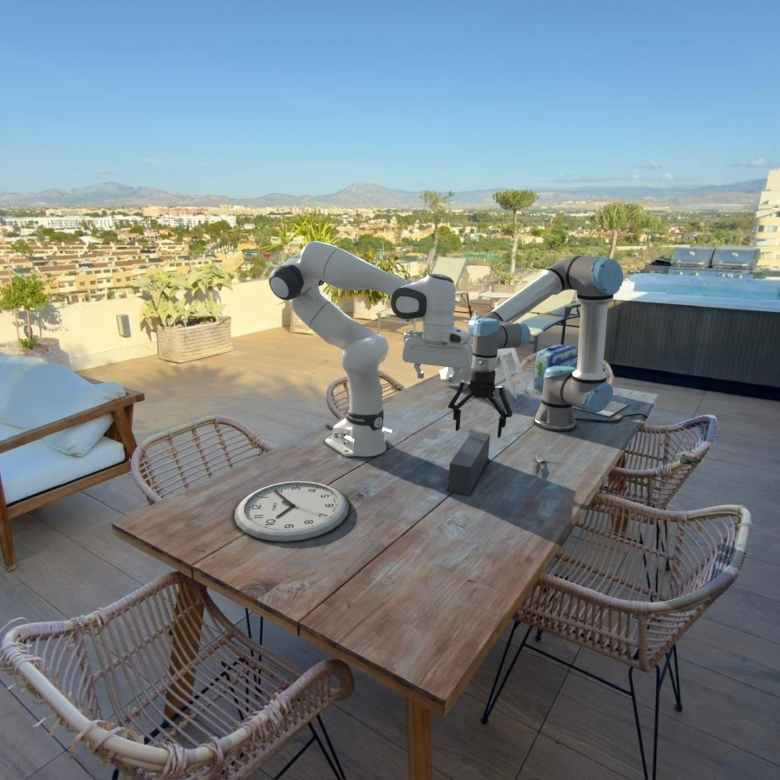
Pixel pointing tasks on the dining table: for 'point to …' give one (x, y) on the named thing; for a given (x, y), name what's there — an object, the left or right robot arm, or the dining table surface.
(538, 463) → the fork
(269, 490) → the wall clock
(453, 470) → the box
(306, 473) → the dining table surface
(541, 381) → the lunch box
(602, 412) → the invitation card
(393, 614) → the dining table surface
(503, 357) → the white plastic object
